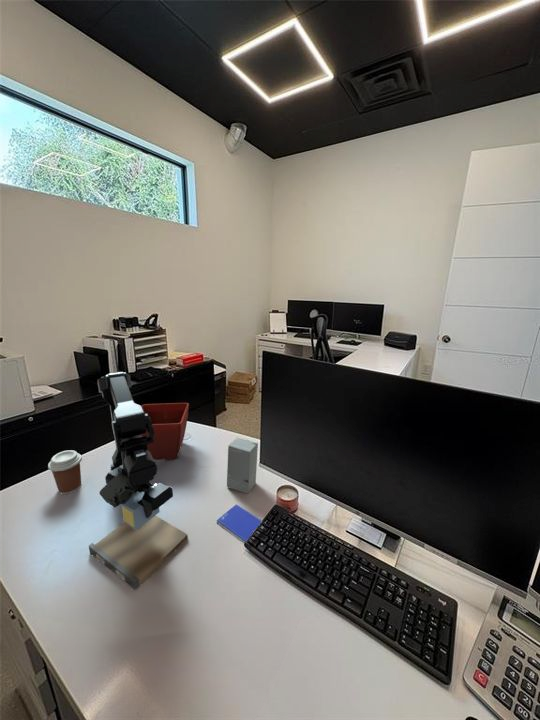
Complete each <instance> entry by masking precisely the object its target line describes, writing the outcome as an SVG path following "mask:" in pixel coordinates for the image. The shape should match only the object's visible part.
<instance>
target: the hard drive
mask: <svg viewBox="0 0 540 720" xmlns="http://www.w3.org/2000/svg"><path fill="white" fill-rule="evenodd" d="M261 521H262V520H261V519H260V518H258V517H257V516H255V515H253V514H252V513H250V512H249V511H248V510H246V509H244V508H243V507H241V506H240V505H238V504H235V505H233V506H232V507H231V508H229V510H227V511H226V512H225V513H223V514H222V515H221V516H220V517H219V518H217V519H216V523H217V524H218V525H219V526H221V527H222V528H223V529H225V530H226V531H227V532H229V533H230V534H231V535H233V536H234V537H236V538H237V539H238V538H239V539H238V540H240V541H241V542H242V541H243V543H244V542H246V541H247V539H248V538H249V537H250V535H251V534H252V533H253V531H254V530H255V529H256V528H257V527H258V526H259V524H260V523H261Z"/></svg>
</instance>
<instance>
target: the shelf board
mask: <svg viewBox="0 0 540 720" xmlns="http://www.w3.org/2000/svg"><path fill="white" fill-rule="evenodd" d="M188 539H189V536H188V533H186V532H184V531H182V530H181V529H179V528H178V527H176V526H174V525H173V524H171V523H169V522H168V521H165V520H164V519H162V518H160V517H159V516H157V514H156V515H155V516H154V517H153V518H151V519H150V520H149V521H148V522H146V523H145V524H144V525H143V526H141V527H140V528H139V529H138V530H137V531H136V530H135V529H133V528H132V527H130V526H129V525H127V524H126V523H124V522H123V523H122V524H120V525H119V526H118V527H116V528H115V529H114V530H112V531H111V532H110V533H108V534H107V535H106V536H105V537H103V538H102V539H100V540H99V541H98V542H96V543H94V542H92V543H90V544H89V545H88V550H89V555H91V556H92V555H93V556H92V557H94V558H95V559H96V560H97V561H98V560H99V561H98V562H99V563H101V564H102V565H104V566H105V567H106V568H107V569H108V570H109V571H111V572H112V573H113V574H114V573H115V574H114V575H115V576H116V577H118V578H119V579H120V580H122V581H123V582H124V583H125V584H127V586H129V587H131V588H132V589H133V590H134V591H137V590H138V589H139V588H140V587H141V586H142V585H143V584H144V583H145V582H146V581H147V580H148V579H149V578H151V576H152V575H153V574H154V573H155V572H156V571H157V570H158V569H159V568H160V567H161V566H162V565H163V564H164V563H165V562H167V560H168V559H169V558H170V557H171V556H172V555H174V553H176V551H178V549H179V548H180V547H181V546H183V544H184V543H186V541H187V540H188Z"/></svg>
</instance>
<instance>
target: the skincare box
mask: <svg viewBox="0 0 540 720" xmlns="http://www.w3.org/2000/svg"><path fill="white" fill-rule="evenodd" d="M258 449H259V443H258V442H255V441H251V440H249V439H245V438H241V437H236V438H235V439H233V440H232V442H230V443H229V444H228V449H227V470H226V471H227V472H226V474H227V475H226V488H228V489H232V490H234V491H238V492H241V493H244V494H249V493H250V492H251V490H252V488H253V487H254V485H255V484H256V480H257V467H258V466H257V465H258Z"/></svg>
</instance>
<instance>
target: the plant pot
mask: <svg viewBox="0 0 540 720" xmlns="http://www.w3.org/2000/svg"><path fill="white" fill-rule="evenodd" d="M141 406H142V409H143V411H144V413H145V414H147V415H148V416H149V417H150V418H151V422H152V426H153V429H154V433H155V435H154V436H153V439H154V443H151V444H147V447H148V450H149V451H150V453H151V455H152V457H153V459H154V461H159V460H160V461H162V460H175V459H178V457H179V455H180V451H181V448H182V444H183V442H184V439H185V434H186V429H187V423H188V418H189V409H190V408H189V407H190V403H188V402H172V403H171V402H169V403H146V404H145V403H144V404H142V405H141ZM141 436H148V432H147V429H146V433H145V434H141ZM148 437H149V436H148Z"/></svg>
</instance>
